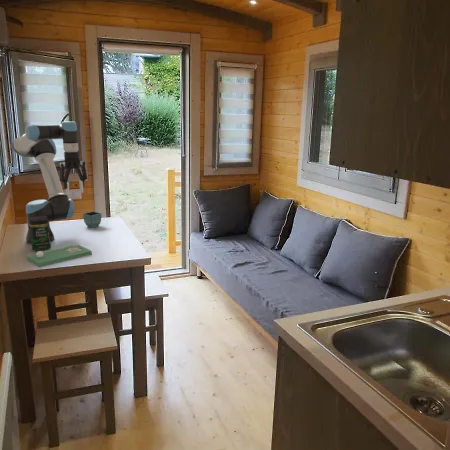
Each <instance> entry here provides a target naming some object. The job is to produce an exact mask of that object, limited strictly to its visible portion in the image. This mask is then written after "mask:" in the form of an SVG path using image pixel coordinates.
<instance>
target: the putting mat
mask: <svg viewBox="0 0 450 450" xmlns="http://www.w3.org/2000/svg"><path fill="white" fill-rule="evenodd" d="M42 252H43V253H44V256H43V257H42V258H38V257H37V256H36V253H34V254H33V253H32V254H30V255H26V259H27V261H29V262H30V263H32V264H33V265H34V266H36V267H38V268H42V267H45V266H49V265H54V264H57V263H62V262H66V261H70V260H74V259H78V258H81V257H87V256H91V255H92V254H93V253H92V250H91V249H88V248H87V247H84V246H83V245H81V244H75V245H71V246H65V247H61V248H56V249H51V250H46V251H42Z"/></svg>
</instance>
